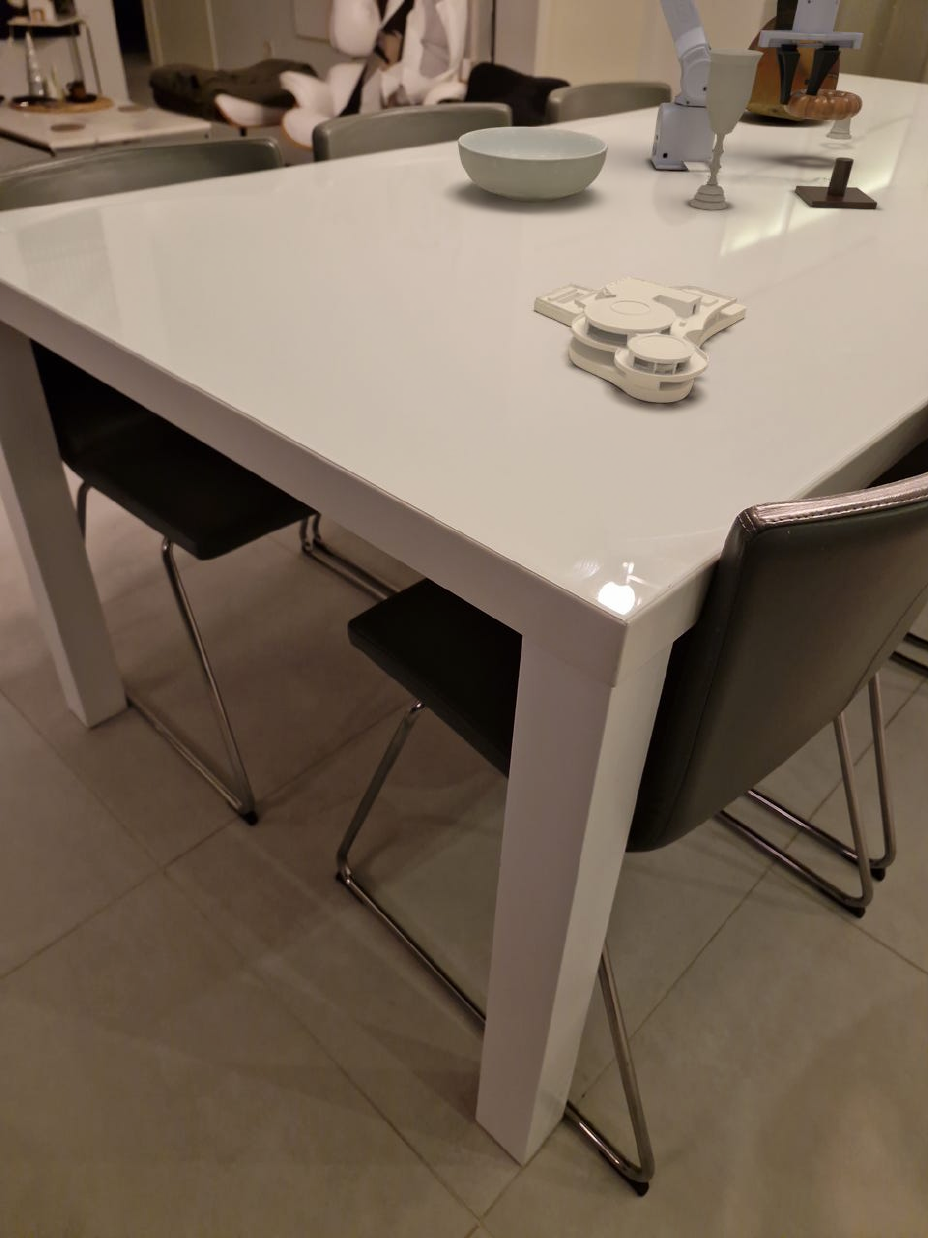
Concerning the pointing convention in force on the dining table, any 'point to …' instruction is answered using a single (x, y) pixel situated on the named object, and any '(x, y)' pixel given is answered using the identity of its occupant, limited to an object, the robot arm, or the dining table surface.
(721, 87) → the chalice
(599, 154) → the serving bowl
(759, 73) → the ceramic pitcher
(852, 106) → the ring
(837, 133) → the rook chess piece
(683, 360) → the white architectural building model
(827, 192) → the post
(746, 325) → the dining table surface
